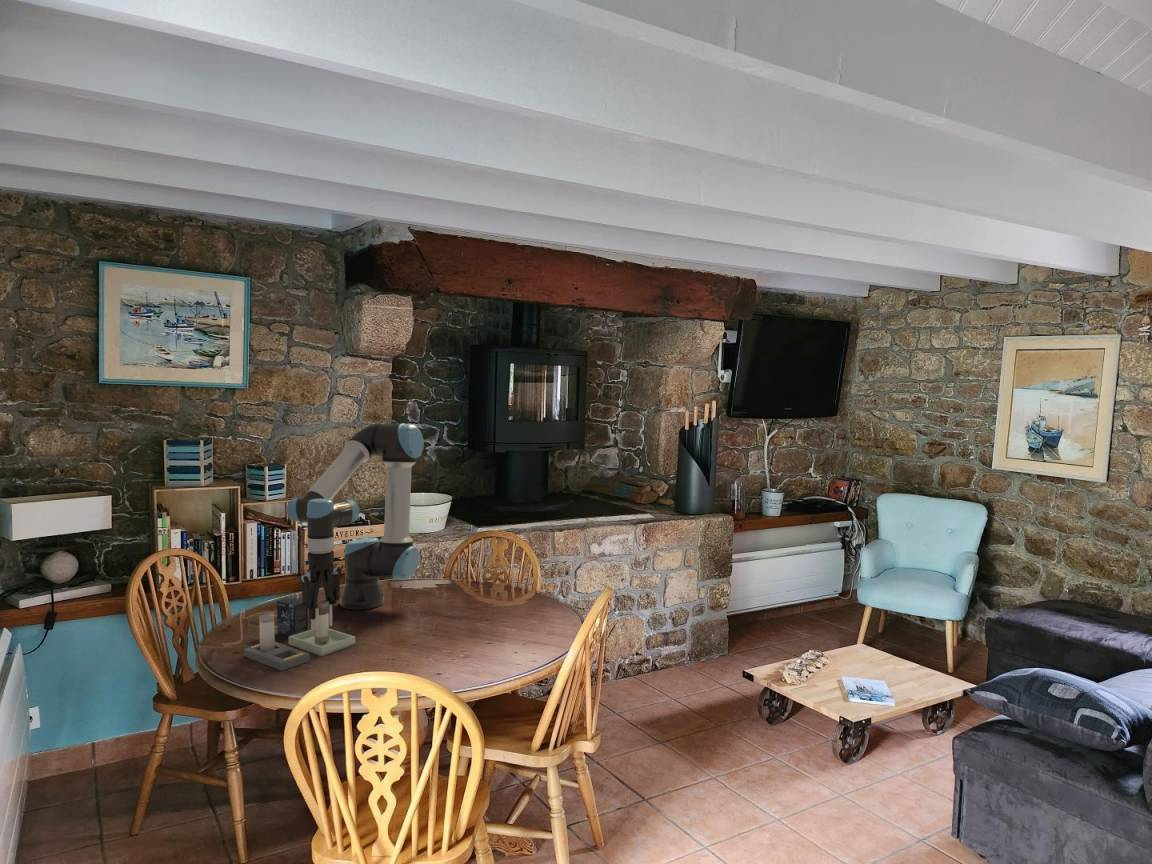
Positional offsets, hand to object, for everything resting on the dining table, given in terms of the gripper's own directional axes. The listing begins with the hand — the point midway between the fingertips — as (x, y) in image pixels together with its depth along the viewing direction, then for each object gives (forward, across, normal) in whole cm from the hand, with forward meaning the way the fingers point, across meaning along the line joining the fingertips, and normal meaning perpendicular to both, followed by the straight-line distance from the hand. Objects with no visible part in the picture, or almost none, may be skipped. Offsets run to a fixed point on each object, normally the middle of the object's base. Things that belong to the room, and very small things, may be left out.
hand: (321, 626), depth 234 cm
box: (+6, -1, -16) cm, 17 cm away
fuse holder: (+5, +15, 0) cm, 16 cm away
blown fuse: (+4, 0, 0) cm, 4 cm away
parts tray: (+5, 0, 0) cm, 5 cm away
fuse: (+5, +15, -5) cm, 17 cm away
